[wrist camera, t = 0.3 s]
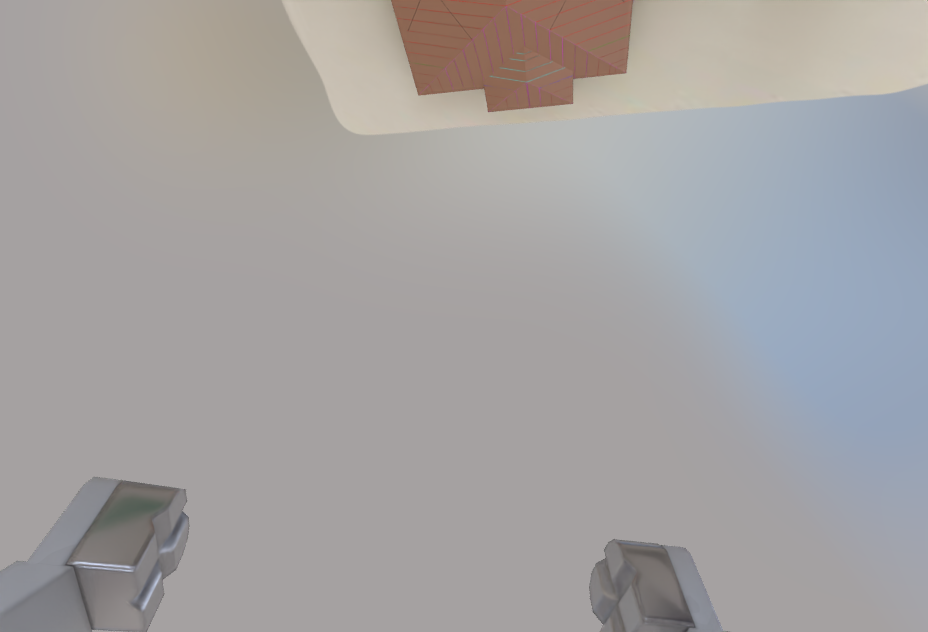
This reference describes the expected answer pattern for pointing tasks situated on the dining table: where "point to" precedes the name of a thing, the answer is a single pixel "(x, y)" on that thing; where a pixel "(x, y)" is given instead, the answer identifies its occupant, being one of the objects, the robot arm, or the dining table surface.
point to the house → (513, 46)
